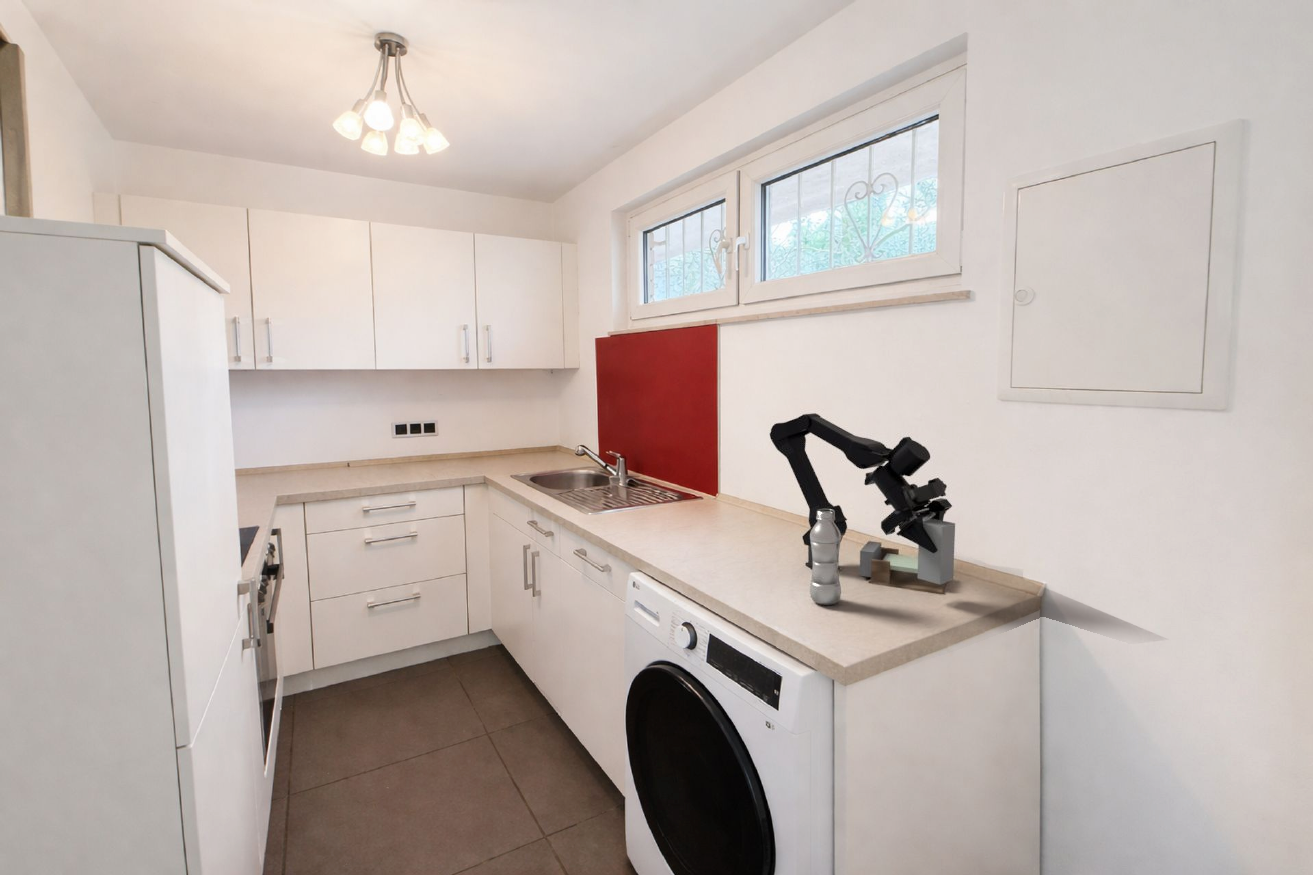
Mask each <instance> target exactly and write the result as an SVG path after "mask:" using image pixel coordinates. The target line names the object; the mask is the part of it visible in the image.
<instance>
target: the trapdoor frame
mask: <svg viewBox="0 0 1313 875" xmlns="http://www.w3.org/2000/svg"><path fill="white" fill-rule="evenodd" d="M899 551H900V549H898V548H891V547H884V546H881V560H876V559H872V560H871V577H869V580H868V584H872V585H873V584H874V585H881V586H885V587H893V588H900V589H906V590H912V591H918V592H919V591H920V592H924V593H926V592H927V593H931V594H939V595H943V593H944V590H945V588H946V584H948V583H947V582H945V583H943V584H941V585H940V584H936V583H933V582H929V581H926V580H922V579H919V578H918V573H912V572H904V571H897V570H890V561H884V560H883V559H884V557H885V556H886V554H887V553H890V554H896V555H900V554H899V553H900V552H899Z"/></svg>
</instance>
